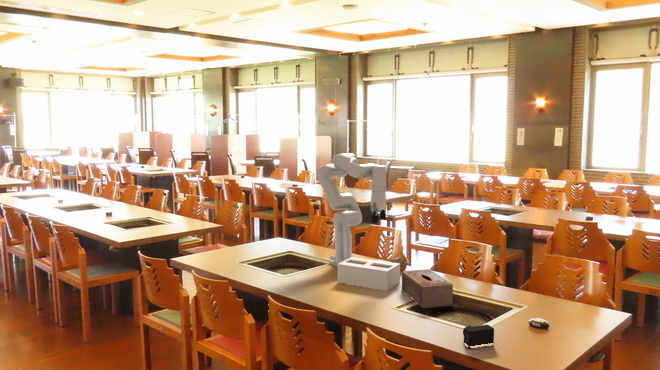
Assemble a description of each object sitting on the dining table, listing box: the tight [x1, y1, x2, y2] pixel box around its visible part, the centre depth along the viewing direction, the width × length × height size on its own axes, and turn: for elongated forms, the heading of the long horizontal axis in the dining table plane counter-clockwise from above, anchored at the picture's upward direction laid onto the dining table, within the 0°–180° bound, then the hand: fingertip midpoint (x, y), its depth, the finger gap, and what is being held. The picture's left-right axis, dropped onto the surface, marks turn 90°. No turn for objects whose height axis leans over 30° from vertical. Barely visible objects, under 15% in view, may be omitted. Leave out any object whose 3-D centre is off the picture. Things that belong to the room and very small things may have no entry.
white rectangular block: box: [337, 256, 401, 292], centre depth 287 cm, size 28×16×10 cm, turn 60°
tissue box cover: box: [401, 268, 454, 309], centre depth 263 cm, size 26×14×10 cm, turn 14°
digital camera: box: [462, 324, 495, 346], centre depth 209 cm, size 10×5×7 cm, turn 107°
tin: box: [390, 256, 408, 274], centre depth 305 cm, size 15×3×8 cm, turn 143°
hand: (378, 220), depth 294 cm, fingers open, 9 cm apart
